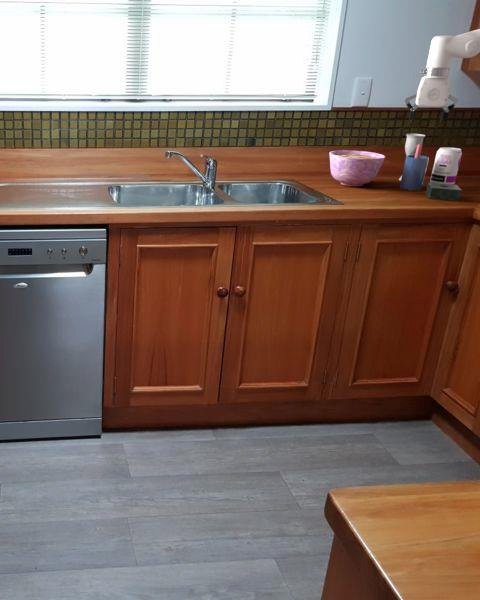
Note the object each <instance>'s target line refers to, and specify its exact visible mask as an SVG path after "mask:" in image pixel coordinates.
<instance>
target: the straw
mask: <svg viewBox="0 0 480 600" xmlns="http://www.w3.org/2000/svg"><path fill="white" fill-rule="evenodd" d="M422 148H423V144H422V145H421V144H418V145H417V149H416V154H415V158H420V156H421V153H422Z"/></svg>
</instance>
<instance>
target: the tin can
mask: <svg viewBox="0 0 480 600" xmlns="http://www.w3.org/2000/svg"><path fill="white" fill-rule="evenodd" d="M429 160H430V157H429V156H426V155H420V158H415V155H406V156H405V159H404V163H403V164H404V165H403V169H402V174H401V176H402V177H401V176H400V177H401V180H400V183H399V188H400V189H401V188H403V189H402V190H405V189H408V190H407V191H412V190H419V191H422V190H421V189H423V186H424V181H425V177H426V172H427V169H428V166H429V165H428V164H429Z"/></svg>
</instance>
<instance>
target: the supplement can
mask: <svg viewBox="0 0 480 600" xmlns="http://www.w3.org/2000/svg"><path fill="white" fill-rule="evenodd" d="M462 156H463V152H462V149H461V148H457V147H446V146H445V147H443V146H442V147H439V149H438V150H437V151H436V154H435V157H434V163H433V167H432V171H431V176H430V179H429V183H438V184H451V185H456V184H455V183H456V179H457V175H458V172H459V168H460V163H461V159H462Z"/></svg>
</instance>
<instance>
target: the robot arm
mask: <svg viewBox="0 0 480 600" xmlns="http://www.w3.org/2000/svg"><path fill="white" fill-rule="evenodd" d="M479 53H480V28H478V29H473V30H471V31H467V32H464V33H461V34H458V35H455V36H454V35H434V36H433V37H432V39H431V42H430V45H429V51H428V56H427V61H426V66H425V68H423V69H421V70H420V74H421V75H424V76H422V77H421V79H420V80H419V81H420V82H419V85H418V87H417V91H416V93H413V94H412V95H410V96H407V97H405V98H404V102H405V105H406V107H407V109H408V110H410V114H409V118H408V120H409V121H410V123H411V124H413V123H414V122H415V118H416V110H417V109H418V108H419V107H427V108H429V107H430V108H441V109H442V111H441V114H440V119H439V123H440V124H441V125H444V122H446V120H447V116H448V113H449V112H450V111H451V110H452V109H454V108H455V107H456V105H457V104H458V103H459V101H460V100H459V99H458V98H456V97H455V96H453V95H451V94H450V90H451V81H452V80H451V77H450V76H449V75H450V71H451V65H452V60H453V58H455V59H471V58H473V57H475V56H477V55H478V54H479ZM411 100H414V104H411ZM449 100H450V101H451V104H449V105H448V102H449ZM447 105H448V106H447Z"/></svg>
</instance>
